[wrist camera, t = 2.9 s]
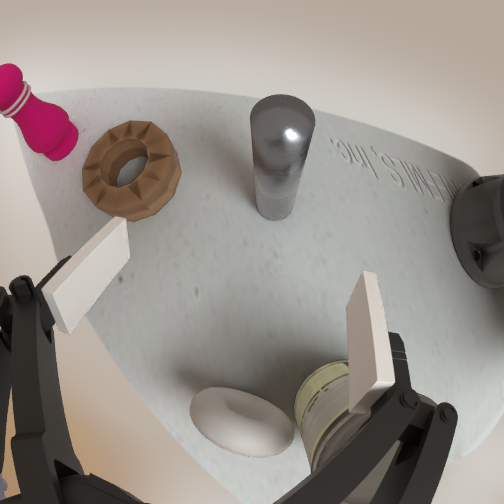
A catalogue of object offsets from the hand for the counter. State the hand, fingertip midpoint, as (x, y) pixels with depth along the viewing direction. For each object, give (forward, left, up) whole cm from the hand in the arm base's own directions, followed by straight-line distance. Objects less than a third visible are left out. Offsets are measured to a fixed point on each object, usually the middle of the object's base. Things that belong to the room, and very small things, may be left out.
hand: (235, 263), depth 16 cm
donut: (-3, +13, -16) cm, 21 cm away
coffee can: (-13, +11, -16) cm, 23 cm away
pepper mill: (+32, -13, -16) cm, 38 cm away
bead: (+16, -9, -16) cm, 25 cm away
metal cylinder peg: (-1, -9, -16) cm, 18 cm away
